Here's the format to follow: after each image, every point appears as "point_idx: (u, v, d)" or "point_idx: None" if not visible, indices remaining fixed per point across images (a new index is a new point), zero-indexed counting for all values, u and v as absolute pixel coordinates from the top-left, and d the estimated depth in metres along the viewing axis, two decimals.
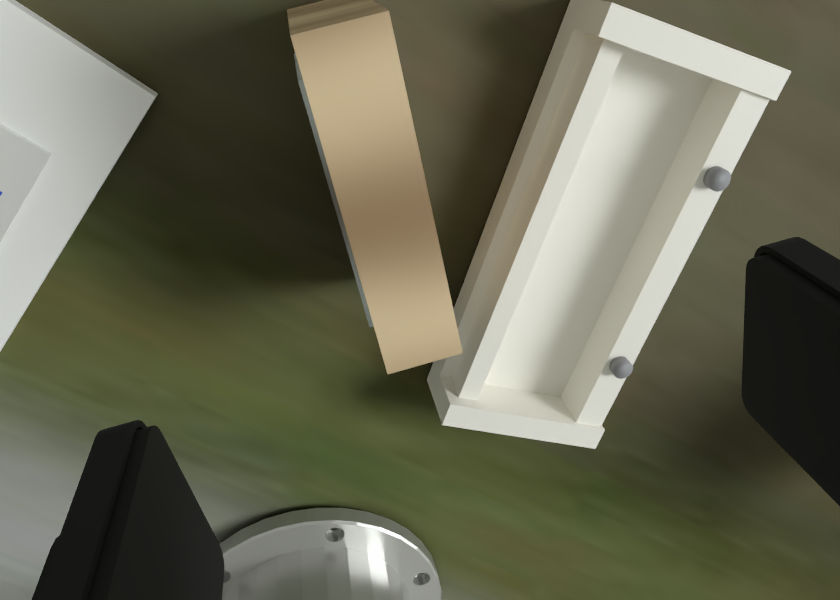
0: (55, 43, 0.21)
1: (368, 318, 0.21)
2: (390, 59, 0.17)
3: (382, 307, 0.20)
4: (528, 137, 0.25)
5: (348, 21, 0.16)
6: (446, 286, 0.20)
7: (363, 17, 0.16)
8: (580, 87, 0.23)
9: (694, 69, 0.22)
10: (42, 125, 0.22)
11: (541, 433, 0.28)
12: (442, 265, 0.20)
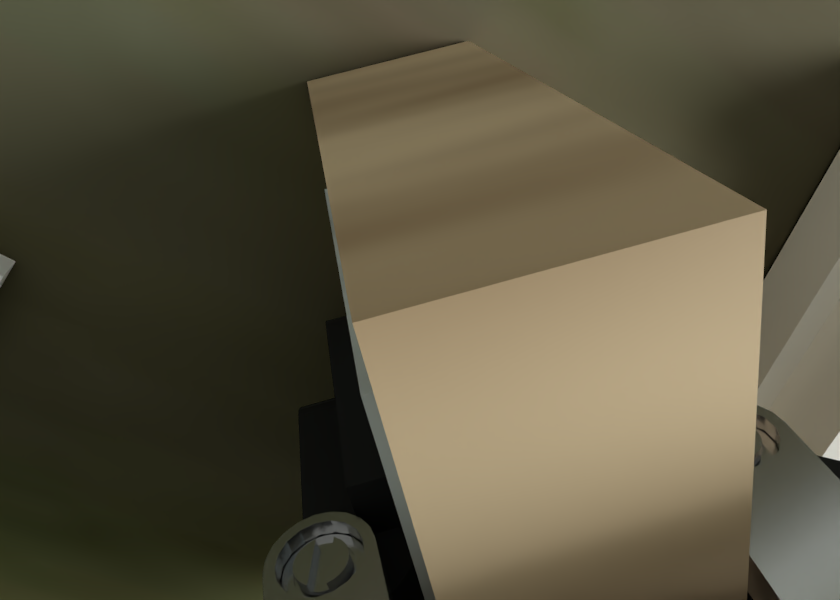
0: None
1: None
2: (727, 373, 0.04)
3: None
4: (781, 326, 0.12)
5: (599, 258, 0.04)
6: None
7: (657, 237, 0.04)
8: None
9: None
10: None
11: None
12: None
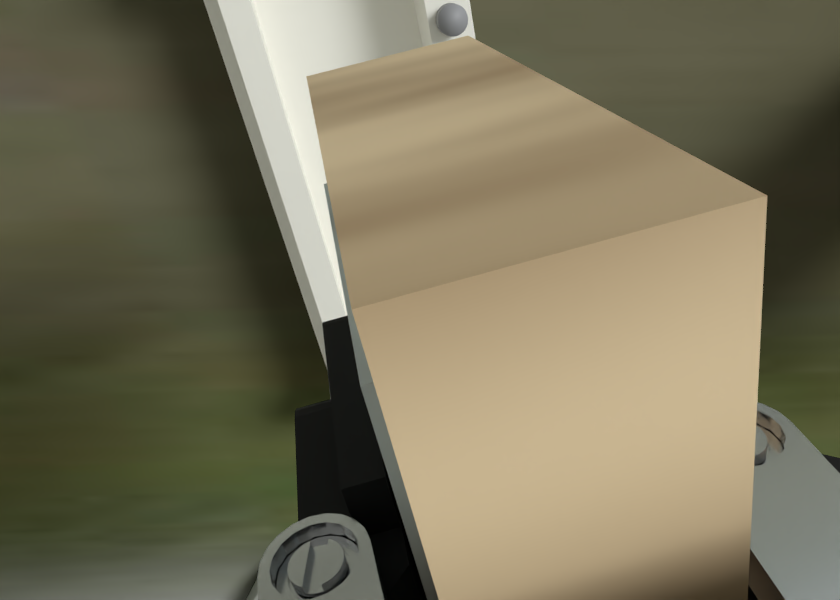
0: None
1: None
2: (728, 362, 0.04)
3: None
4: None
5: (600, 244, 0.04)
6: None
7: (658, 223, 0.04)
8: None
9: None
10: None
11: None
12: None
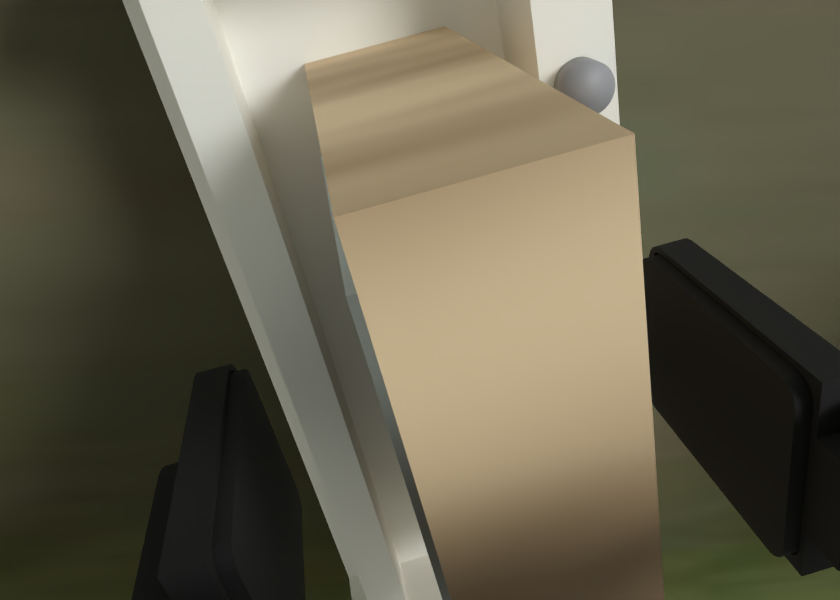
0: None
1: None
2: (618, 264, 0.06)
3: None
4: None
5: (512, 170, 0.05)
6: None
7: (556, 155, 0.05)
8: None
9: None
10: None
11: None
12: None
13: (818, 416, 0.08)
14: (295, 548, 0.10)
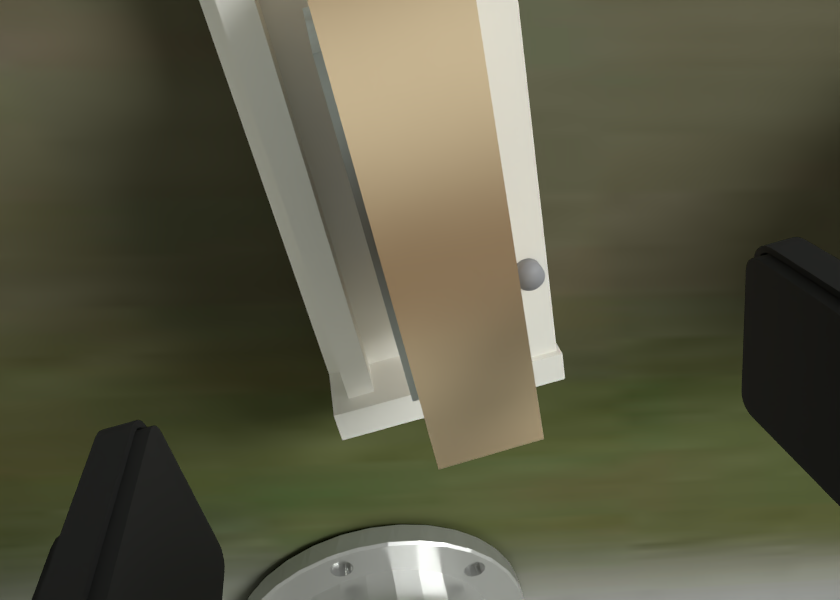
0: None
1: (411, 390, 0.15)
2: (464, 20, 0.10)
3: (435, 385, 0.14)
4: None
5: None
6: (527, 354, 0.14)
7: None
8: None
9: None
10: None
11: None
12: (524, 327, 0.13)
13: None
14: None
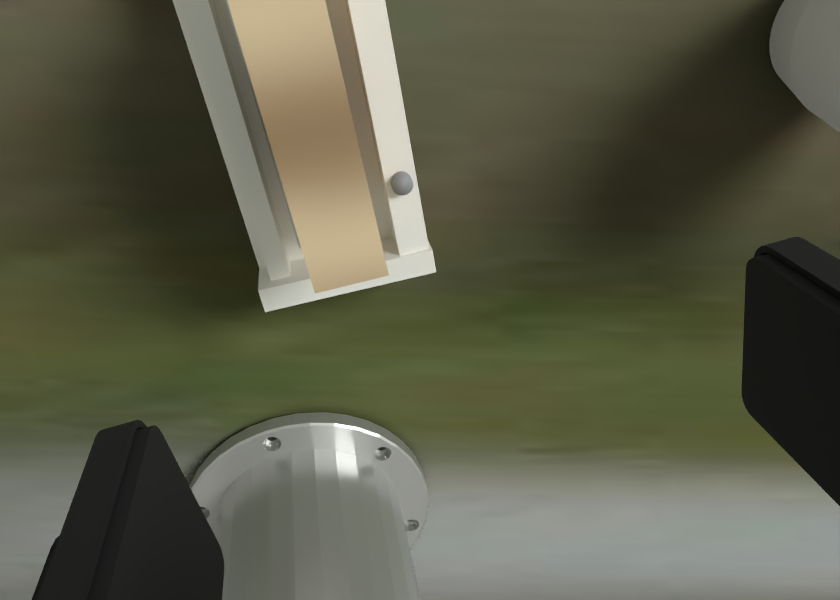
0: None
1: (297, 238, 0.22)
2: None
3: (308, 224, 0.20)
4: None
5: None
6: (371, 206, 0.21)
7: None
8: None
9: None
10: None
11: (368, 280, 0.27)
12: (366, 184, 0.20)
13: None
14: None
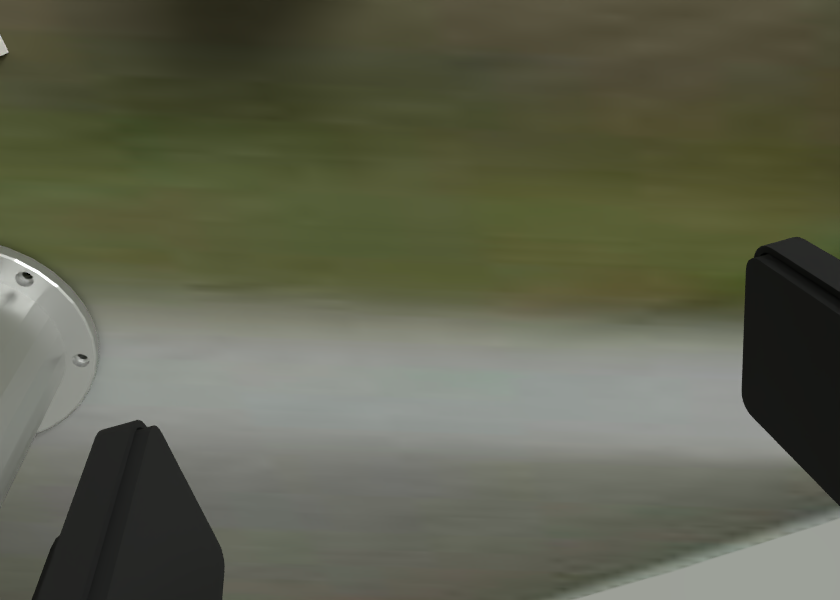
0: None
1: None
2: None
3: None
4: None
5: None
6: None
7: None
8: None
9: None
10: None
11: None
12: None
13: None
14: None
